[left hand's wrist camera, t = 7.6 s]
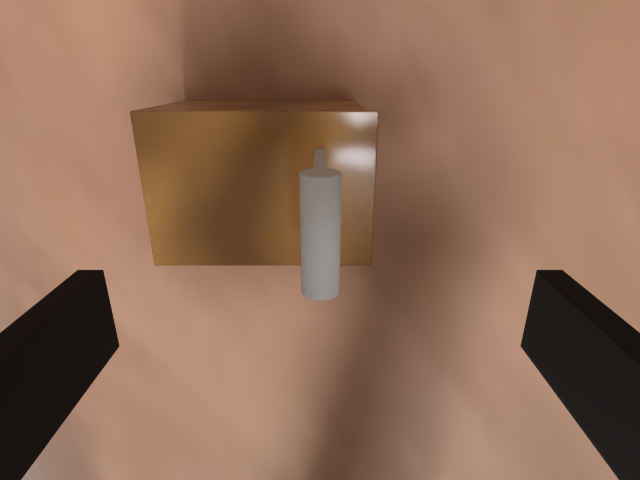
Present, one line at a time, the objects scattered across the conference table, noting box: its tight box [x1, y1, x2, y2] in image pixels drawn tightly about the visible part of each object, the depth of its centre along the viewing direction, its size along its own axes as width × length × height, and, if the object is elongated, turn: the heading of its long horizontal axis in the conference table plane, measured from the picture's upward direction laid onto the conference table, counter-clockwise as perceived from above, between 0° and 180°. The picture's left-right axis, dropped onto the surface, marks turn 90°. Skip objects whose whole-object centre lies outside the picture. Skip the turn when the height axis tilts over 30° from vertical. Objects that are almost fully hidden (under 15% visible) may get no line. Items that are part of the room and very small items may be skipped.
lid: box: [130, 110, 379, 301], centre depth 22 cm, size 14×10×9 cm
